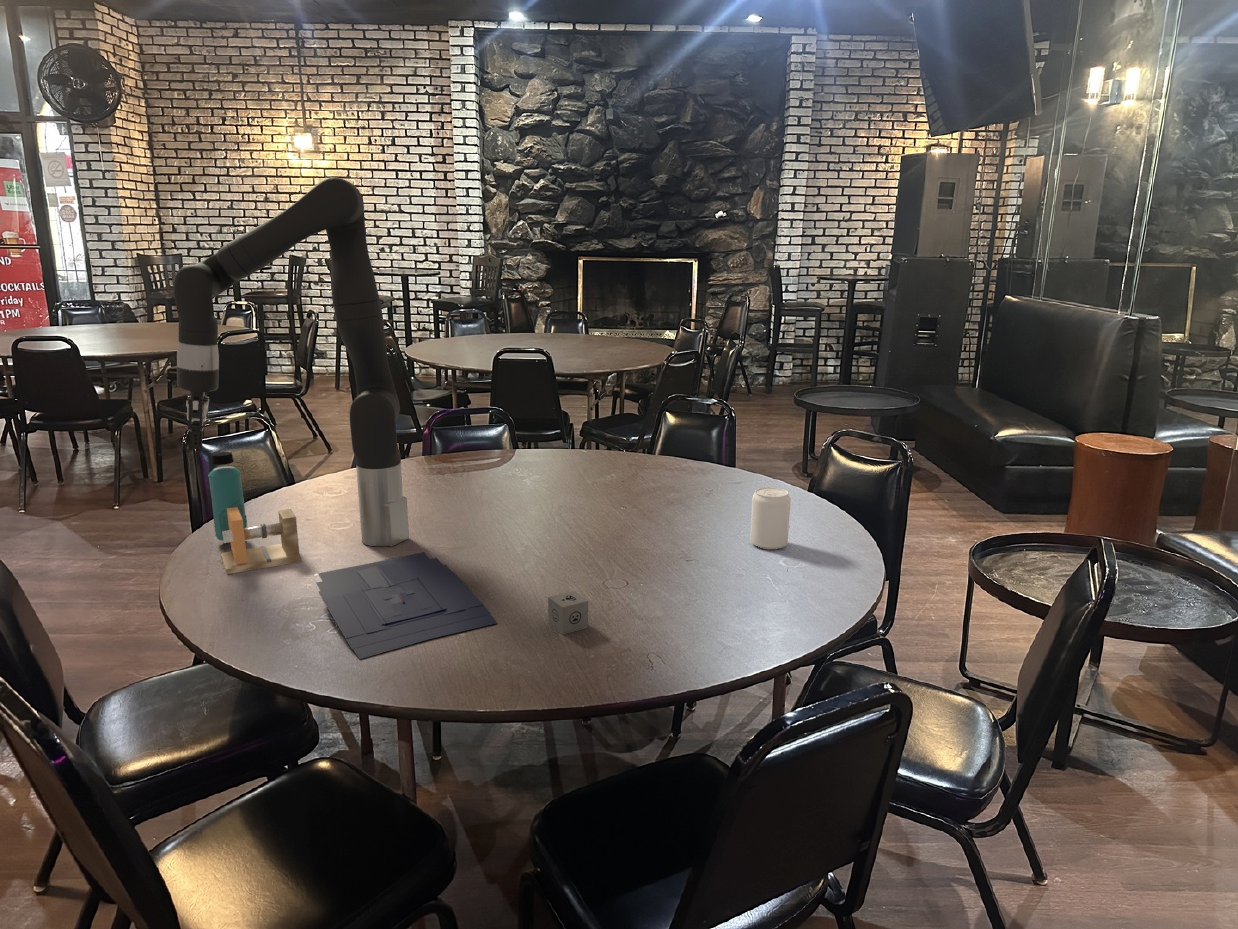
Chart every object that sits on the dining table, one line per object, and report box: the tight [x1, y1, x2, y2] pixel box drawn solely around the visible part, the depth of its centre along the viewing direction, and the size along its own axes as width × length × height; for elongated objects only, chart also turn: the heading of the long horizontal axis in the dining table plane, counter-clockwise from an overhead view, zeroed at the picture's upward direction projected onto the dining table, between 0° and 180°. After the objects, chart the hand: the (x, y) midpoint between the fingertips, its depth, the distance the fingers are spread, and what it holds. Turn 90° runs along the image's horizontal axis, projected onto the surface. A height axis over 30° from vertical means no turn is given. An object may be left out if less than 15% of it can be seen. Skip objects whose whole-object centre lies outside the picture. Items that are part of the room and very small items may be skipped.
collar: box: [227, 507, 247, 564], centre depth 168 cm, size 2×9×9 cm, turn 30°
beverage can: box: [749, 486, 791, 550], centre depth 182 cm, size 8×8×12 cm
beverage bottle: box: [207, 451, 248, 542], centre depth 179 cm, size 6×7×20 cm
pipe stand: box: [220, 508, 303, 575], centre depth 171 cm, size 14×10×9 cm
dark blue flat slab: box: [315, 551, 498, 660], centre depth 150 cm, size 24×30×4 cm
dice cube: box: [547, 590, 589, 636], centre depth 143 cm, size 5×5×5 cm
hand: (197, 443), depth 173 cm, fingers open, 8 cm apart
